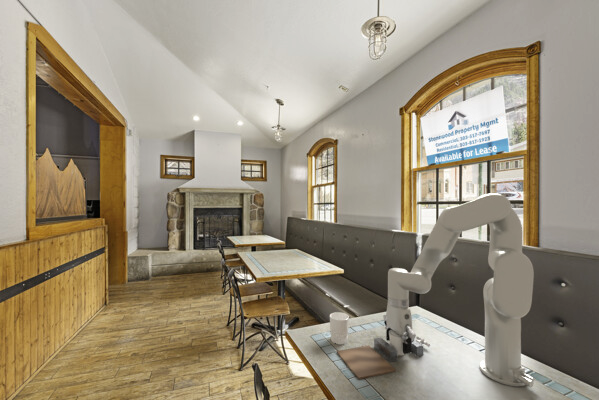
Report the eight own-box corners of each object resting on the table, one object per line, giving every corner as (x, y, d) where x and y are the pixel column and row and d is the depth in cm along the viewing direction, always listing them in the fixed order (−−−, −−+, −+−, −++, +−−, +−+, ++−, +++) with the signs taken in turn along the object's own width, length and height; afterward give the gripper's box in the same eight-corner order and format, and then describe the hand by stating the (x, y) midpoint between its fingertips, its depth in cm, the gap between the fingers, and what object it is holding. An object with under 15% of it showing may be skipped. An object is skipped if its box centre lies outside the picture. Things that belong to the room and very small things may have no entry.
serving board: (395, 371, 89) (395, 369, 89) (358, 379, 85) (358, 377, 85) (369, 346, 105) (369, 345, 105) (336, 352, 100) (336, 351, 100)
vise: (434, 352, 101) (434, 343, 101) (390, 361, 95) (390, 352, 95) (415, 339, 110) (415, 331, 110) (374, 347, 104) (374, 338, 104)
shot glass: (404, 346, 105) (404, 329, 105) (410, 356, 98) (410, 337, 98) (386, 345, 105) (386, 328, 105) (391, 355, 99) (391, 336, 99)
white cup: (334, 346, 105) (334, 321, 105) (326, 336, 112) (326, 313, 112) (352, 343, 107) (352, 318, 107) (343, 334, 114) (344, 311, 114)
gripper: (422, 308, 95) (422, 357, 95) (392, 293, 111) (392, 334, 111) (405, 311, 92) (405, 360, 92) (376, 294, 109) (376, 336, 109)
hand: (398, 346), depth 102 cm, fingers open, 9 cm apart
